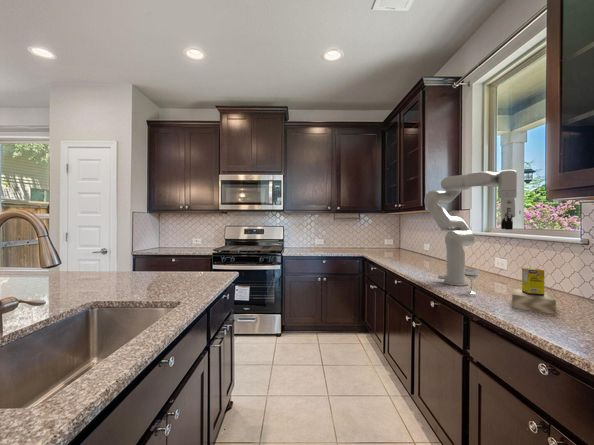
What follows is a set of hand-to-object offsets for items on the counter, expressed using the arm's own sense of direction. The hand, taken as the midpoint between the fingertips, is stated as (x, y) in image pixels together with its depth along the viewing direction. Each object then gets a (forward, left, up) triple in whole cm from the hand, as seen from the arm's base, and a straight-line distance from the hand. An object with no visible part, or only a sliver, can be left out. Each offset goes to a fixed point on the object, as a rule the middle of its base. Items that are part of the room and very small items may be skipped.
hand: (506, 229), depth 143 cm
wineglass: (-15, -2, -34) cm, 37 cm away
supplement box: (+7, -17, -28) cm, 34 cm away
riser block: (+7, -18, -34) cm, 39 cm away
